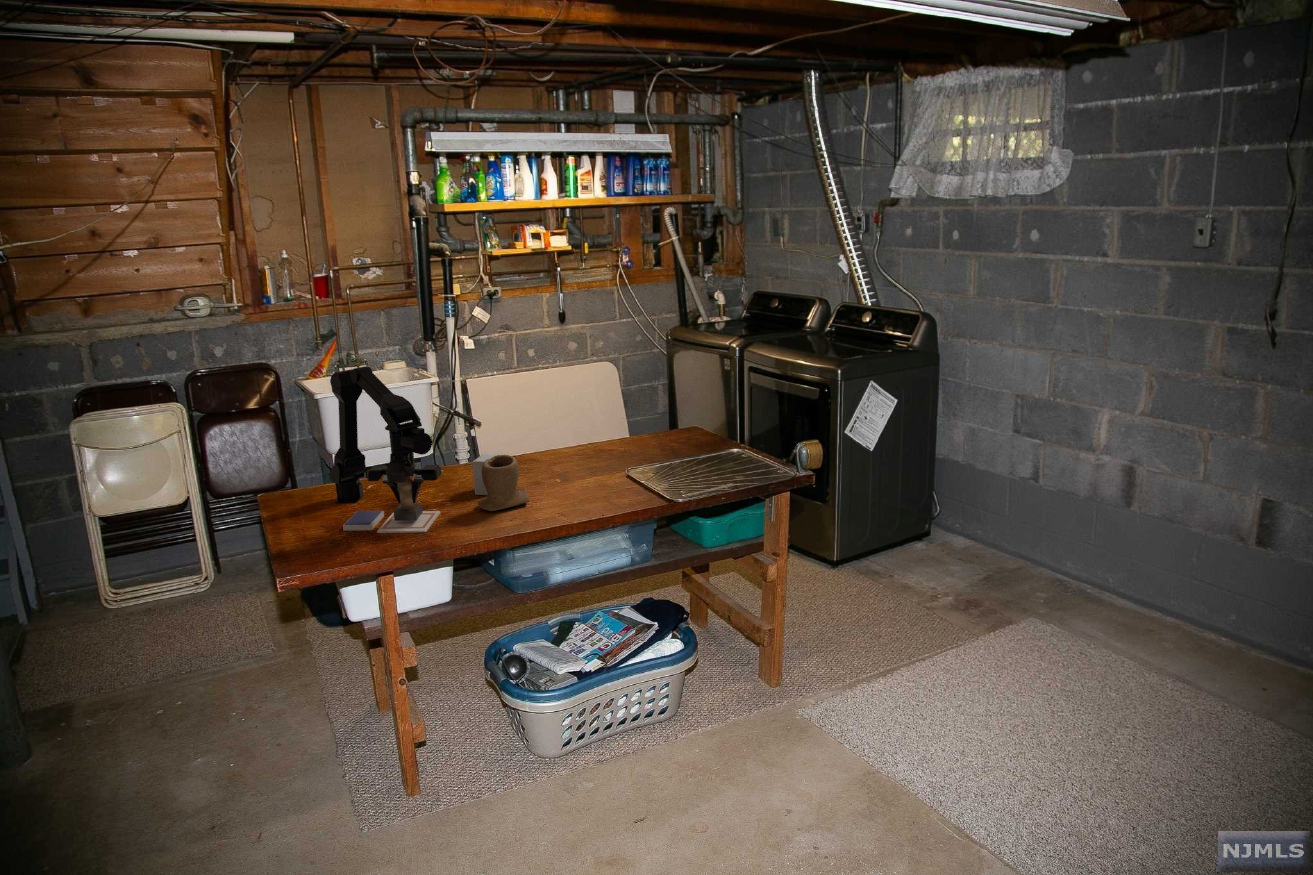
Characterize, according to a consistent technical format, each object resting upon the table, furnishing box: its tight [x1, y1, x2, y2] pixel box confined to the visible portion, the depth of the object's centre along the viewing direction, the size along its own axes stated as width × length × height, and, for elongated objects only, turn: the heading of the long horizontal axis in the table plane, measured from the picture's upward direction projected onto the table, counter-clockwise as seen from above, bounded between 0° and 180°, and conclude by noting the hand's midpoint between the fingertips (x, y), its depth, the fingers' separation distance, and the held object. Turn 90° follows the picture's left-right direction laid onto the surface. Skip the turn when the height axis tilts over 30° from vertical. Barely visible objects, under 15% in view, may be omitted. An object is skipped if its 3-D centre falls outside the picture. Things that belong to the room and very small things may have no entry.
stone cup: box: [477, 454, 531, 512], centre depth 257 cm, size 15×12×15 cm
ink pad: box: [342, 510, 385, 532], centre depth 248 cm, size 8×11×2 cm
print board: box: [376, 510, 441, 534], centre depth 248 cm, size 13×15×1 cm
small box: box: [472, 453, 498, 496], centre depth 271 cm, size 8×6×10 cm
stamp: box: [393, 476, 423, 521], centre depth 246 cm, size 6×6×12 cm
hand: (407, 502), depth 246 cm, fingers closed on stamp, 4 cm apart
